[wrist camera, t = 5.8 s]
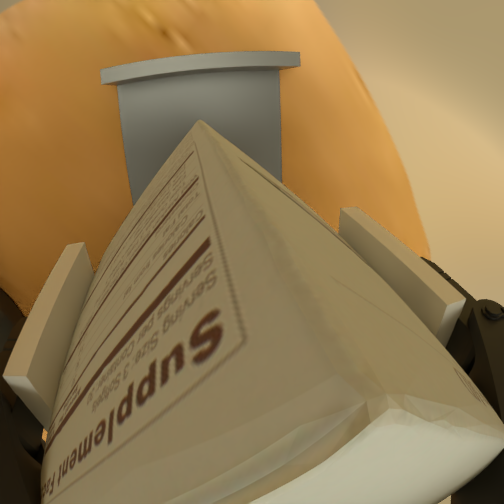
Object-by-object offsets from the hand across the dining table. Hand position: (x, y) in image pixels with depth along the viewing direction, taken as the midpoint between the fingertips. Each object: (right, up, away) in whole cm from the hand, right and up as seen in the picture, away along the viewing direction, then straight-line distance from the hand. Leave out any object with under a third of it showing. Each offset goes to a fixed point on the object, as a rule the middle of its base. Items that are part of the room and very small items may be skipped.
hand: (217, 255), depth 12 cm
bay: (-3, +7, +13) cm, 15 cm away
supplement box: (-1, +1, +2) cm, 2 cm away
